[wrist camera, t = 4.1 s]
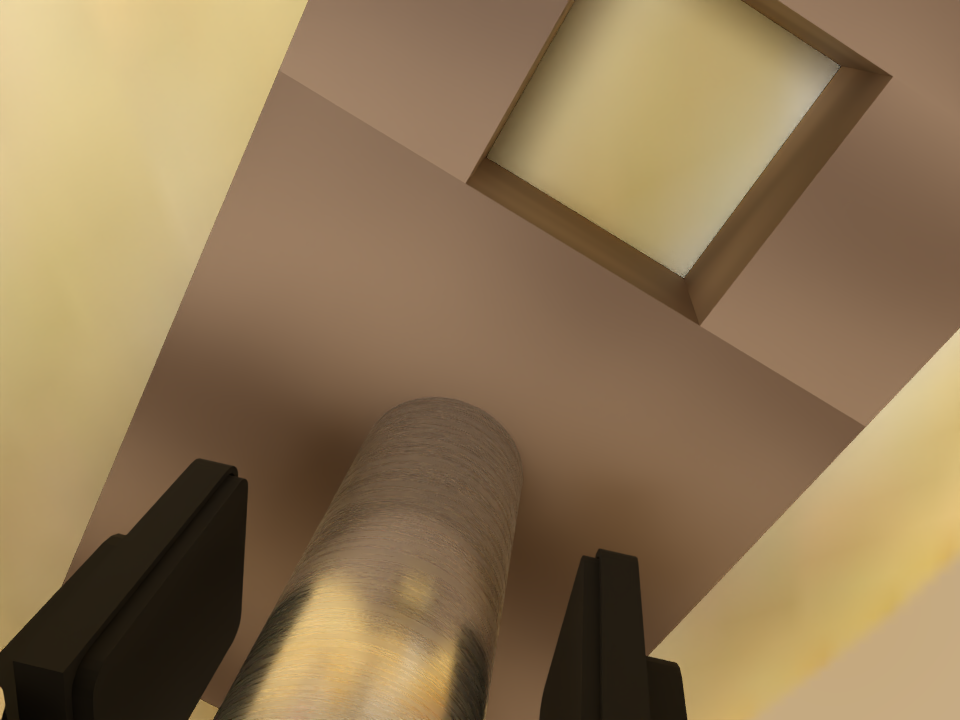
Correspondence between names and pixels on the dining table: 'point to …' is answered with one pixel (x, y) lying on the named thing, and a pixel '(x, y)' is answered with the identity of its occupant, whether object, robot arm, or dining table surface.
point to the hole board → (550, 308)
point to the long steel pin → (396, 580)
